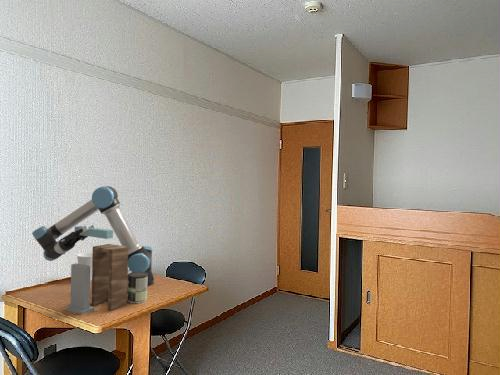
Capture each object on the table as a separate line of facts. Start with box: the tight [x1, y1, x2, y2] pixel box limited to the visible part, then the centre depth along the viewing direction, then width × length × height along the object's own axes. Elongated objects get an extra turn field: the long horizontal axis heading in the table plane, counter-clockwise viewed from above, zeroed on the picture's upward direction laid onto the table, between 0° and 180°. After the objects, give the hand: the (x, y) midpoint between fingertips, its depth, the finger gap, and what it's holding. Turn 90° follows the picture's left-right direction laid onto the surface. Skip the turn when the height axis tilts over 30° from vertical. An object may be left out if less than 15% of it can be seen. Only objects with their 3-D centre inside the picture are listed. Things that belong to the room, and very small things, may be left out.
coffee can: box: [127, 272, 148, 304], centre depth 199 cm, size 10×10×14 cm
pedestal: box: [64, 262, 95, 315], centre depth 181 cm, size 12×7×22 cm, turn 62°
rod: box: [74, 225, 114, 240], centre depth 194 cm, size 24×4×4 cm, turn 63°
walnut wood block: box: [90, 243, 128, 312], centre depth 189 cm, size 14×10×30 cm
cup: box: [76, 252, 93, 282], centre depth 233 cm, size 12×12×16 cm
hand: (91, 226), depth 195 cm, fingers closed on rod, 4 cm apart
